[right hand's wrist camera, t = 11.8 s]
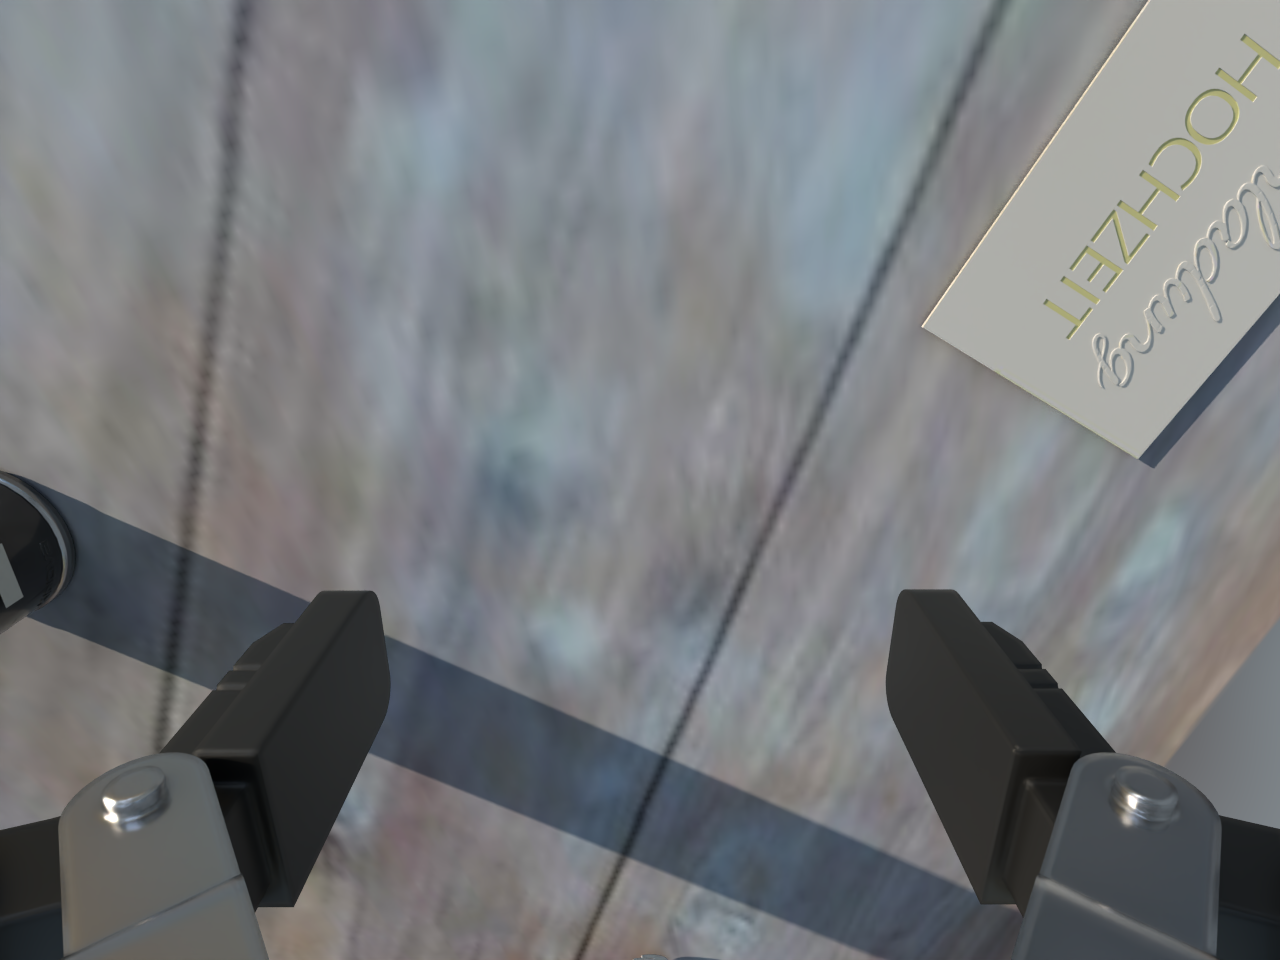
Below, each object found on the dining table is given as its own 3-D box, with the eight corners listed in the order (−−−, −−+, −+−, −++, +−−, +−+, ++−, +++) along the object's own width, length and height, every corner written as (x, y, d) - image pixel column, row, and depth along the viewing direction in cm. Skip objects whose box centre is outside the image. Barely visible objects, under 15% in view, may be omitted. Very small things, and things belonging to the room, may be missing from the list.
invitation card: (1223, -104, 32) (1457, 87, 35) (1218, -101, 33) (1451, 88, 35) (923, 327, 39) (1138, 459, 42) (921, 326, 39) (1135, 457, 42)
